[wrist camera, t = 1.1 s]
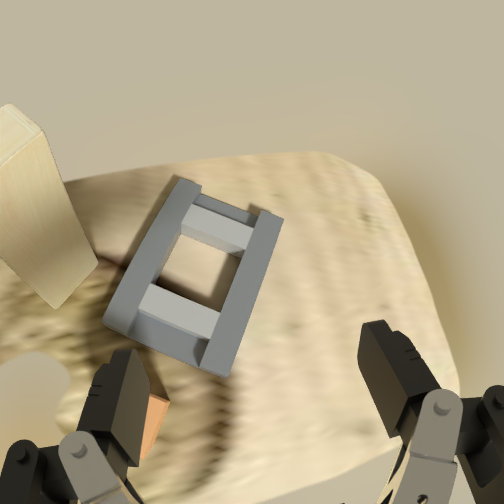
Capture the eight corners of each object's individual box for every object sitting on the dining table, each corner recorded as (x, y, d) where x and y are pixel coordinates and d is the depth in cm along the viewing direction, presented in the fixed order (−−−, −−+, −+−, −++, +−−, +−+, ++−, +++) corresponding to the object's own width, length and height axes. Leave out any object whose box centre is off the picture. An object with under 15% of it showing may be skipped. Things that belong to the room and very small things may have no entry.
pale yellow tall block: (64, 227, 36) (6, 97, 17) (101, 262, 35) (45, 129, 16) (23, 271, 32) (-68, 161, 13) (56, 311, 31) (-44, 212, 13)
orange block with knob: (154, 442, 28) (141, 462, 18) (110, 422, 27) (78, 431, 18) (170, 401, 30) (164, 402, 20) (126, 381, 30) (101, 373, 20)
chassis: (224, 378, 32) (227, 377, 30) (106, 326, 32) (100, 321, 30) (278, 228, 42) (284, 218, 40) (179, 189, 41) (180, 177, 39)
